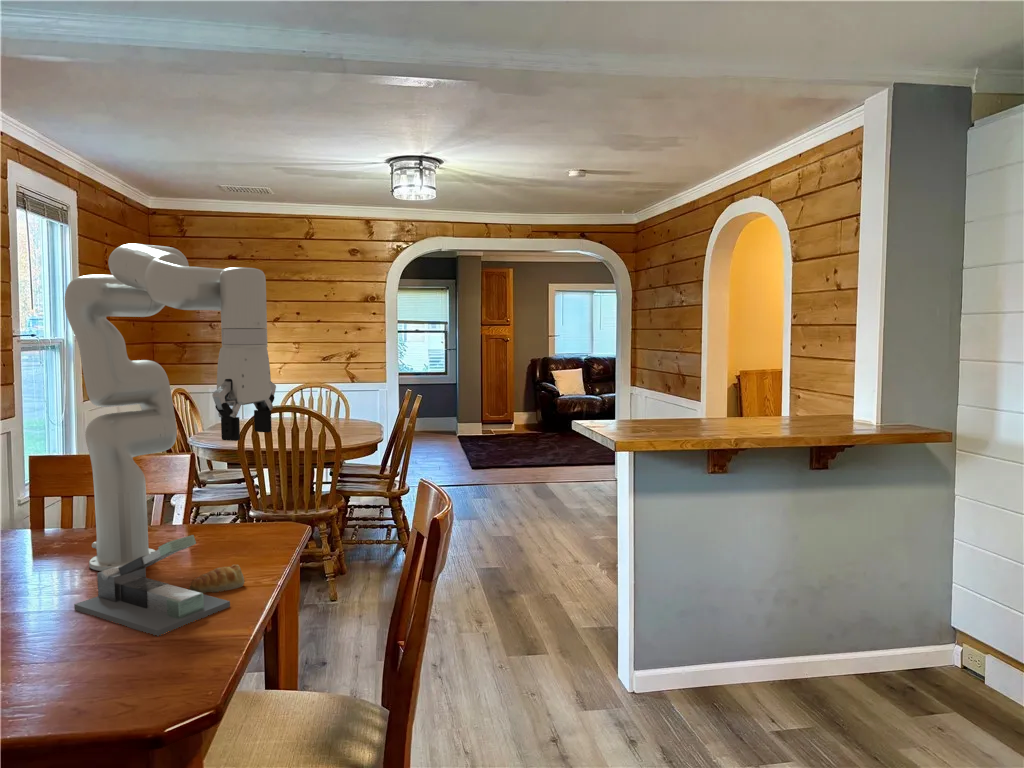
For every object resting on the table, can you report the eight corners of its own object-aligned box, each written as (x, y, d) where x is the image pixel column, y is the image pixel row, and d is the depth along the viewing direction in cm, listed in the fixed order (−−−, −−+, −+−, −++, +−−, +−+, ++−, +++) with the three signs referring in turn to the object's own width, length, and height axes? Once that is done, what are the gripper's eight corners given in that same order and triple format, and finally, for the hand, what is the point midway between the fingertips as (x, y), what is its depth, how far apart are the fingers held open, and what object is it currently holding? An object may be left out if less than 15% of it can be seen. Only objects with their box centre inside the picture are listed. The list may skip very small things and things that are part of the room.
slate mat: (74, 609, 127) (74, 604, 127) (148, 584, 139) (148, 579, 139) (157, 636, 116) (157, 630, 116) (230, 606, 128) (229, 601, 128)
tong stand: (97, 597, 130) (95, 568, 130) (131, 586, 136) (129, 558, 135) (174, 620, 119) (173, 588, 119) (207, 607, 125) (206, 577, 125)
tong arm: (119, 576, 127) (117, 567, 128) (145, 568, 132) (142, 560, 132) (171, 551, 120) (168, 541, 120) (196, 543, 124) (193, 534, 124)
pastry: (195, 599, 132) (194, 578, 132) (185, 589, 137) (184, 569, 137) (247, 587, 138) (246, 567, 138) (235, 578, 143) (234, 559, 143)
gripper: (254, 338, 136) (256, 428, 137) (193, 340, 119) (197, 443, 121) (290, 338, 134) (292, 429, 136) (234, 340, 117) (237, 444, 119)
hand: (247, 435), depth 128 cm, fingers open, 9 cm apart
